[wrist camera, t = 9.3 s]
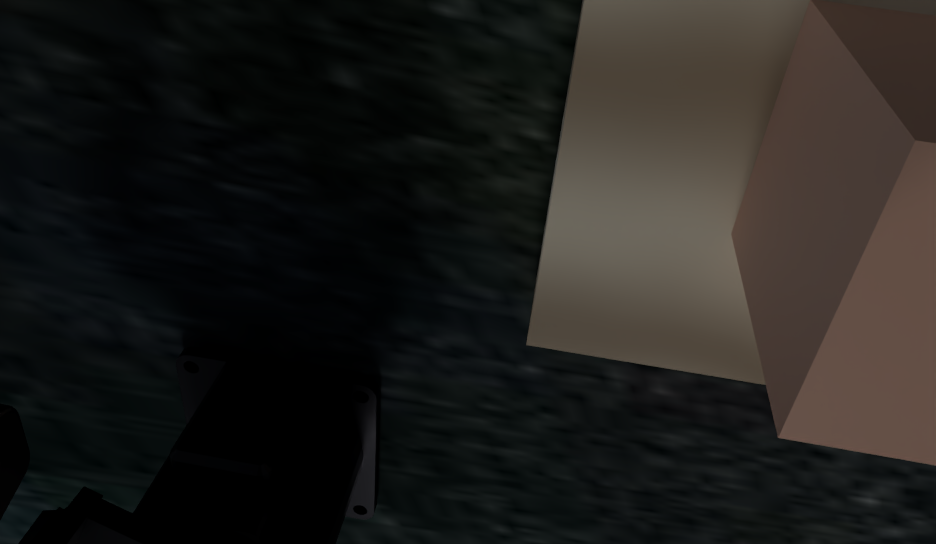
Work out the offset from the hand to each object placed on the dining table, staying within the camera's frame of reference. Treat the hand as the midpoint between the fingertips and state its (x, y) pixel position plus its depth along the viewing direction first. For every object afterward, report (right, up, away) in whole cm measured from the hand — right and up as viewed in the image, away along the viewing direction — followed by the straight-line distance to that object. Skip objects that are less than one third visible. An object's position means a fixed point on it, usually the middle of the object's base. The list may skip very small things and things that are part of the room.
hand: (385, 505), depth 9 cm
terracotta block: (+9, +5, +6) cm, 12 cm away
